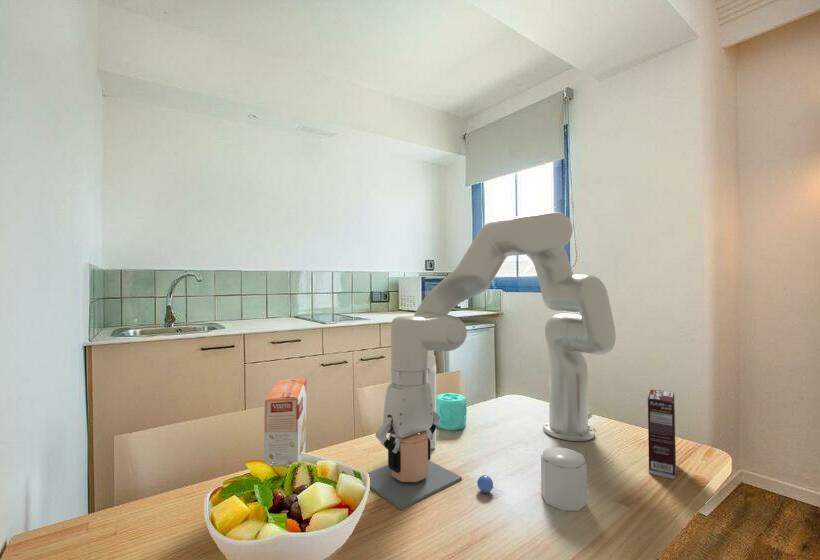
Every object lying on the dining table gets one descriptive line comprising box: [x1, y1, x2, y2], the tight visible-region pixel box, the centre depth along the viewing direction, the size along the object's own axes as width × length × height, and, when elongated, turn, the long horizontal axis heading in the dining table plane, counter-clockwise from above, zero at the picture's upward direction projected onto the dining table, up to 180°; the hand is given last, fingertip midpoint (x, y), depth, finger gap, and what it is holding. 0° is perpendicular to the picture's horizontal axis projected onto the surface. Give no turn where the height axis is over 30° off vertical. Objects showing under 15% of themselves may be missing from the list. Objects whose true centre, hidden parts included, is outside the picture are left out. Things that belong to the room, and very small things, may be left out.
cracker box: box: [263, 378, 307, 467], centre depth 71 cm, size 14×6×21 cm, turn 9°
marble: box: [476, 474, 494, 494], centre depth 74 cm, size 3×3×3 cm
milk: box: [428, 354, 437, 450], centre depth 96 cm, size 6×6×22 cm
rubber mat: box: [367, 460, 463, 511], centre depth 78 cm, size 16×14×1 cm
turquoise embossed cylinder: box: [436, 392, 468, 432], centre depth 108 cm, size 8×8×8 cm
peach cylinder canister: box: [391, 431, 428, 482], centre depth 78 cm, size 7×7×8 cm
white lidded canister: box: [540, 446, 588, 512], centre depth 71 cm, size 7×7×8 cm
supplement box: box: [647, 389, 677, 480], centre depth 83 cm, size 9×5×16 cm, turn 145°
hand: (409, 463), depth 78 cm, fingers closed on peach cylinder canister, 7 cm apart
